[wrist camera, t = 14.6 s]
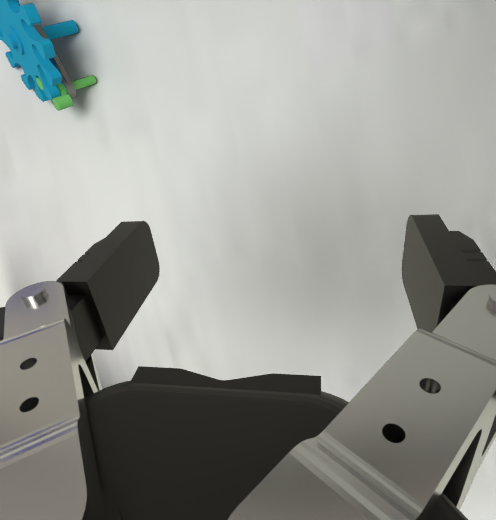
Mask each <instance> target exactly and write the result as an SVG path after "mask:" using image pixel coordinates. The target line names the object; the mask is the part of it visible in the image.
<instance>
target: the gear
mask: <svg viewBox="0 0 496 520" xmlns="http://www.w3.org/2000/svg"><path fill="white" fill-rule="evenodd" d="M40 23H41V19H40V17H39V14H38V12H37V10H36V8H35V6H34V4H32V3H31V4H26V5H21V6H20V4H19V1H18V0H0V40H2V41H3V42H5V44H6V45H7V46H8V47H9V48H10V50H11V51H10V52H6V56H7V58H8V60H9V62H10V64H11V66H12V67H13V68H15V67H18V66H21V67H22V68H23V70H24V73H25V74H24V75H21V78H22V81H23V82H24V84H25V85H26V87H27V88H28V89H29V90H30V89H34V88H35V93H36V95H37V96H38V97H39V99H41V100H42V101H43V102H44V101H47V100H50V99H52V101H53V104H54V106H55V108H56V109H57V110H58V111H59V110H62V109H65V108H68V107H71V106H73V102H72V99H71V97H74V96H76V90H78V89H81V88H84V87H87V86H90V85H93V84H96V79H95V77H94V76H93V75H91V76H88V77H85V78H82V79H79V80H76V81H71V79H70V77H69V76H68V74H67V72H66V70H65V68H64V66H63V65H62V63H61V61H60V59H59V57H58V55H57V54H56V52H55V50H54V47H53V44H52V42H51V41H50V40H51V39H55V38H59V37H64V36H68V35H72V34H76V33H78V27H77V25H76V23H75V22H74V21H73V20H71V21H67V22H62V23H58V24H53V25H49V26H44V27H41V26H40V25H39V24H40Z"/></svg>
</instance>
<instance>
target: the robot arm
mask: <svg viewBox="0 0 496 520" xmlns="http://www.w3.org/2000/svg"><path fill="white" fill-rule="evenodd" d="M158 277H159V261H158V257H157V254H156V250H155V246H154V242H153V238H152V234H151V230H150V227H149V225H148V224H147V222H145V221H134V222H121V223H120V224H119V225H118V226H117V227H116V228H115V229H114V230H113V231H112V232H111V233H110V234H109V235H108V236H107V237H106V238H104V239H102V240H101V241H99V242H97V243H95V244H94V245H93V246H92V247H91V248H90V249H89V250H88V251H87V252H85V255H82V256H81V257H80V258H79V259H78V262H75V263H74V264H73V265H72V266H71V267H70V268H69V269H68V270H67V271H66V272H65V273H64V274H63V275H62V276H61V277H60V278H59V279H58V280H57V281H46V282H40V283H36V284H33V285H30V286H28V287H25V288H23V289H21V290H20V291H18V292H16V293H15V294H14V295H12V296H11V297H10V298H9V300H8V301H7V303H6V306H5V307H2V308H0V520H468V519H467V518H466V517H465V516H464V515H463V514H462V513H461V512H460V511H459V510H460V508H461V506H462V504H463V502H464V500H465V498H466V496H467V493H468V491H469V489H470V487H471V484H472V482H473V480H474V478H475V475H476V473H477V471H478V469H479V467H480V465H481V464H482V462H483V460H484V458H485V456H486V454H487V452H488V451H489V449H490V447H491V445H492V443H493V441H494V440H495V438H496V271H495V270H494V269H493V267H492V266H491V264H490V263H489V262H488V261H487V259H486V257H485V256H484V254H483V253H482V252H481V250H480V249H479V247H478V246H477V245H476V243H475V242H474V240H473V239H471V238H469V237H468V236H466V235H464V234H463V233H461V232H459V231H449V230H448V229H447V227H446V226H445V224H444V222H443V221H442V219H441V218H440V216H439V215H410V216H409V218H408V221H407V227H406V236H405V244H404V252H403V260H402V279H403V284H404V287H405V290H406V293H407V297H408V300H409V303H410V306H411V309H412V312H413V316H414V319H415V322H416V325H417V328H418V330H417V331H415V332H414V333H413V334H412V335H411V337H410V338H409V339H408V340H407V341H406V342H405V343H404V344H403V345H402V346H401V347H400V348H399V349H398V351H397V352H396V353H395V354H394V355H393V356H392V357H391V358H390V359H389V360H388V361H387V362H386V363H385V365H384V366H383V367H382V368H381V369H380V370H379V371H378V372H377V373H376V374H375V375H374V376H373V377H372V379H371V380H370V381H369V382H368V383H367V384H366V385H365V386H364V387H363V388H362V389H361V390H360V392H359V393H358V394H357V395H356V396H355V397H354V398H353V399H352V400H351V401H350V402H347V401H345V400H344V399H342V398H339V397H337V396H334V395H332V394H329V393H325V392H322V391H321V376H309V375H290V374H267V375H260V376H253V377H247V378H240V379H233V380H225V381H224V380H217V379H214V378H211V377H207V376H204V375H200V374H197V373H193V372H190V371H187V370H183V369H177V368H158V367H138V369H137V371H136V373H135V374H134V376H133V378H132V380H131V381H126V382H122V383H119V384H115V385H112V386H109V387H107V388H104V389H102V388H101V384H100V380H99V376H98V372H97V368H96V363H95V361H94V358H93V356H92V353H93V351H94V350H95V349H104V350H113V349H114V348H115V346H116V344H117V343H118V341H119V340H120V338H121V337H122V335H123V333H124V332H125V330H126V329H127V327H128V326H129V324H130V323H131V321H132V319H133V318H134V316H135V315H136V313H137V312H138V310H139V308H140V307H141V305H142V304H143V302H144V301H145V299H146V298H147V296H148V294H149V293H150V291H151V290H152V288H153V287H154V285H155V283H156V282H157V280H158Z"/></svg>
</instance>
